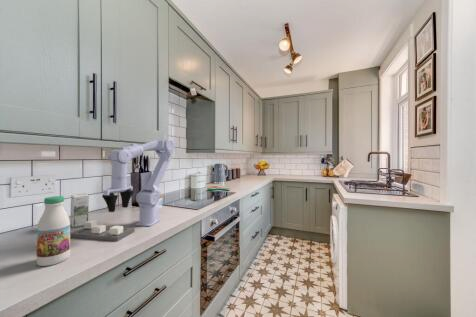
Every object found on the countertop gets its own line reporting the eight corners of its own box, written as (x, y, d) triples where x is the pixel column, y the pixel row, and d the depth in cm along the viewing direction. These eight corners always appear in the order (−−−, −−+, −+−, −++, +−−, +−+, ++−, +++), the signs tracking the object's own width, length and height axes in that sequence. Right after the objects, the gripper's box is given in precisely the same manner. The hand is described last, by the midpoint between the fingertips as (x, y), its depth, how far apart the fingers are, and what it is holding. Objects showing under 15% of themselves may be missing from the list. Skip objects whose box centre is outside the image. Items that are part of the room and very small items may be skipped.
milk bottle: (36, 260, 63) (37, 196, 63) (68, 252, 68) (69, 193, 68) (36, 270, 57) (36, 200, 57) (71, 260, 63) (71, 197, 62)
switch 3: (115, 231, 82) (115, 225, 82) (123, 232, 82) (123, 226, 82) (109, 234, 79) (109, 228, 79) (117, 234, 79) (117, 228, 79)
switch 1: (89, 225, 89) (90, 220, 89) (97, 226, 88) (97, 220, 88) (83, 228, 86) (83, 222, 86) (91, 228, 85) (91, 222, 85)
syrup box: (85, 222, 99) (85, 193, 99) (88, 225, 95) (88, 194, 95) (70, 225, 94) (70, 194, 94) (73, 228, 91) (73, 196, 90)
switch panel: (90, 228, 90) (90, 225, 90) (134, 231, 87) (134, 228, 87) (68, 237, 80) (68, 233, 80) (117, 241, 77) (117, 237, 77)
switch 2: (98, 230, 83) (98, 224, 83) (105, 230, 83) (105, 224, 83) (91, 233, 80) (91, 226, 80) (99, 233, 80) (99, 227, 80)
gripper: (123, 175, 92) (122, 205, 92) (96, 178, 78) (95, 213, 78) (137, 176, 91) (136, 206, 91) (112, 179, 77) (111, 214, 77)
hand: (118, 209), depth 84 cm, fingers open, 7 cm apart
